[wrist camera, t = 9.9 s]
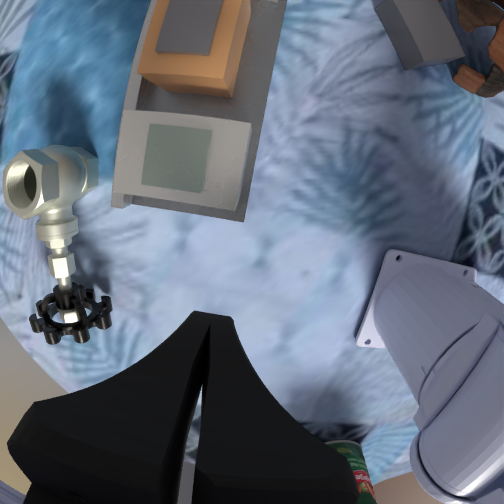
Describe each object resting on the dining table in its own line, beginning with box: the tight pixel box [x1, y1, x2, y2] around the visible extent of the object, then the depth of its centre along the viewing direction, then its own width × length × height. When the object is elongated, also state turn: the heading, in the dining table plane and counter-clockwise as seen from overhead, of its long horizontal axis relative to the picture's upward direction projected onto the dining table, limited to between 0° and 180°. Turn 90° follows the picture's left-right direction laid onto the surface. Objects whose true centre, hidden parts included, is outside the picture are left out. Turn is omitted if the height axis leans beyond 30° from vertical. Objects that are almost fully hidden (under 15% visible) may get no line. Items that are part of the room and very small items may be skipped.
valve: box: [3, 145, 112, 345], centre depth 16 cm, size 7×7×12 cm
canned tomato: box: [324, 440, 377, 504], centre depth 23 cm, size 8×8×11 cm
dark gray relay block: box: [375, 0, 465, 70], centre depth 14 cm, size 4×5×3 cm
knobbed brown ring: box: [438, 0, 504, 97], centre depth 12 cm, size 12×10×8 cm
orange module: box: [137, 0, 251, 98], centre depth 12 cm, size 4×6×5 cm, turn 170°
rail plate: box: [111, 0, 287, 222], centre depth 13 cm, size 8×20×6 cm, turn 170°
